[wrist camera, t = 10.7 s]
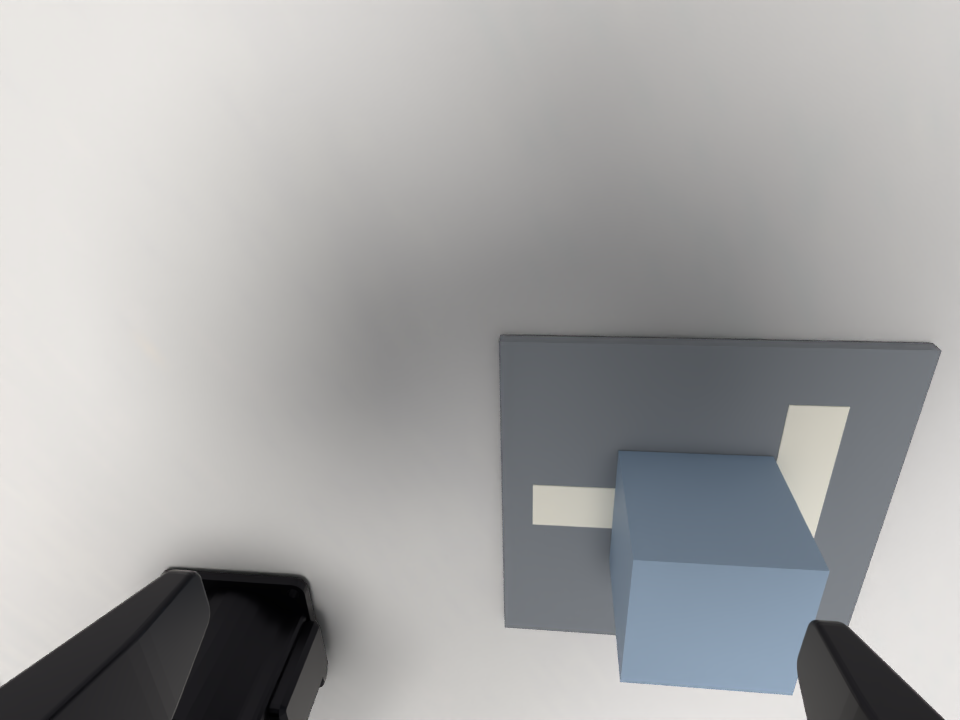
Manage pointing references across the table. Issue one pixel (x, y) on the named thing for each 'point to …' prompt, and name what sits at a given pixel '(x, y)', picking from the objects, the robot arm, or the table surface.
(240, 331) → the table surface
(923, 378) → the letter card
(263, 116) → the table surface
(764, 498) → the blue cube
